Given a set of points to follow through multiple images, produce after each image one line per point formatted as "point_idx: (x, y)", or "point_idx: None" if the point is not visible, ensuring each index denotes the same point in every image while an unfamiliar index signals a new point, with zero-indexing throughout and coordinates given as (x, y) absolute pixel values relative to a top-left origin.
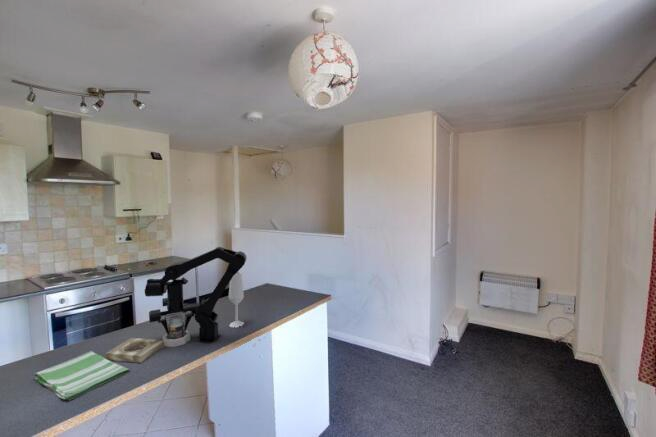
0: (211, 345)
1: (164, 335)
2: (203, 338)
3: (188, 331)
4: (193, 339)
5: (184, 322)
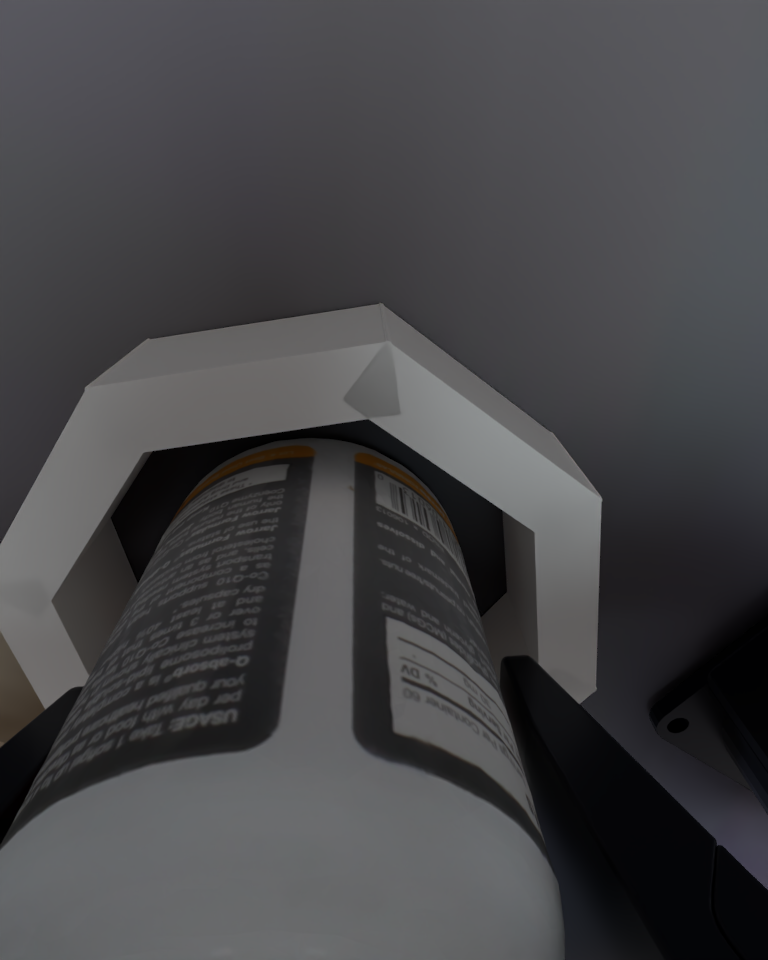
0: (746, 847)
1: (10, 559)
2: (740, 769)
3: (592, 570)
4: (601, 613)
5: (597, 869)
